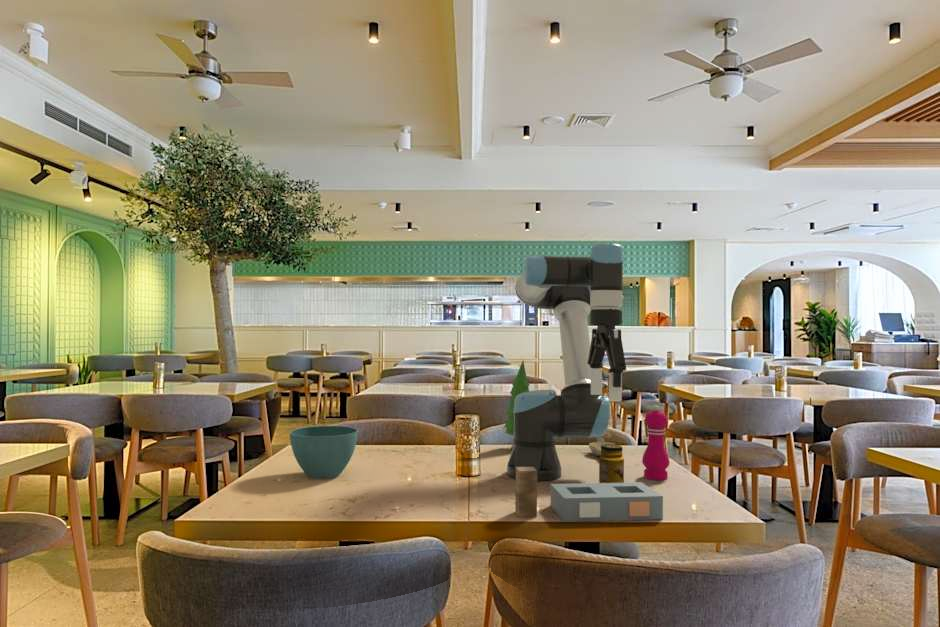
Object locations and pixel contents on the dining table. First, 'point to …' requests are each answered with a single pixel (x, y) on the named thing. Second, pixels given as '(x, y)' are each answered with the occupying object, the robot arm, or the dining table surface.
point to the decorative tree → (518, 387)
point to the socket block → (606, 502)
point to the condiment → (611, 464)
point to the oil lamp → (599, 443)
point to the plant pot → (323, 449)
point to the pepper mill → (655, 446)
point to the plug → (526, 492)
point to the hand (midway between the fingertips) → (605, 398)
